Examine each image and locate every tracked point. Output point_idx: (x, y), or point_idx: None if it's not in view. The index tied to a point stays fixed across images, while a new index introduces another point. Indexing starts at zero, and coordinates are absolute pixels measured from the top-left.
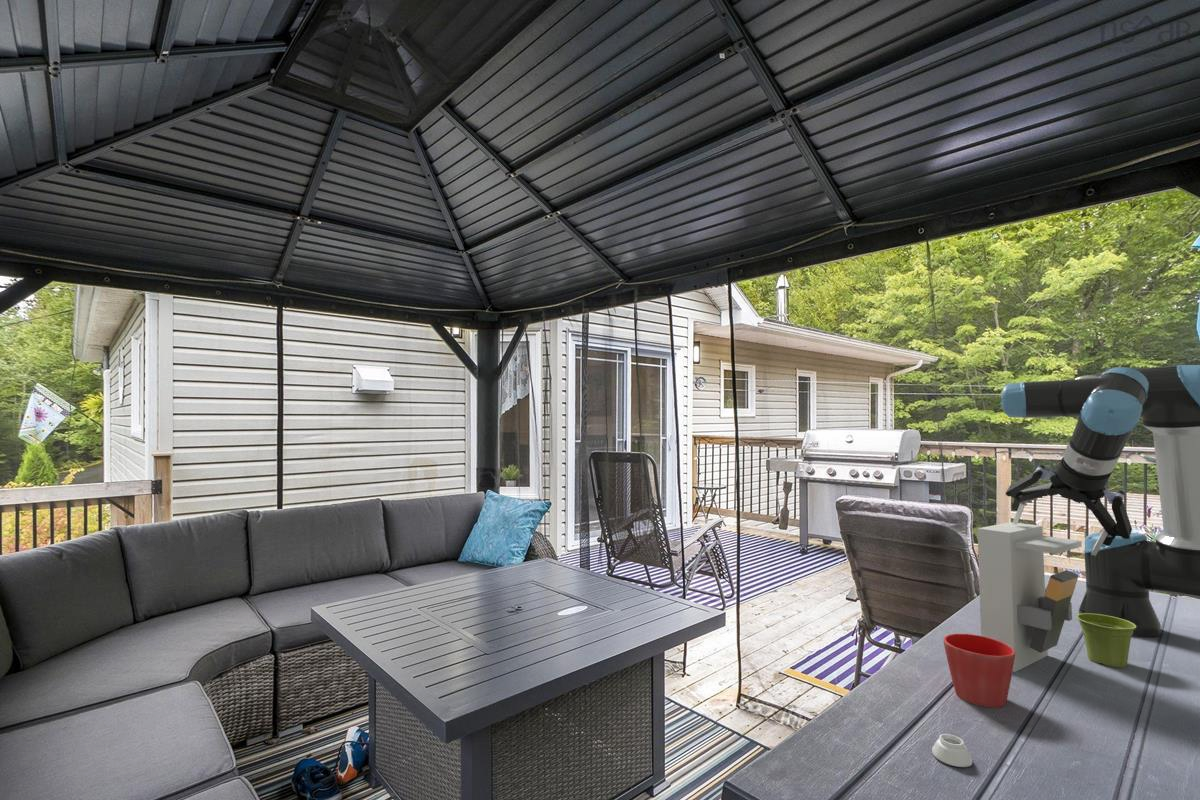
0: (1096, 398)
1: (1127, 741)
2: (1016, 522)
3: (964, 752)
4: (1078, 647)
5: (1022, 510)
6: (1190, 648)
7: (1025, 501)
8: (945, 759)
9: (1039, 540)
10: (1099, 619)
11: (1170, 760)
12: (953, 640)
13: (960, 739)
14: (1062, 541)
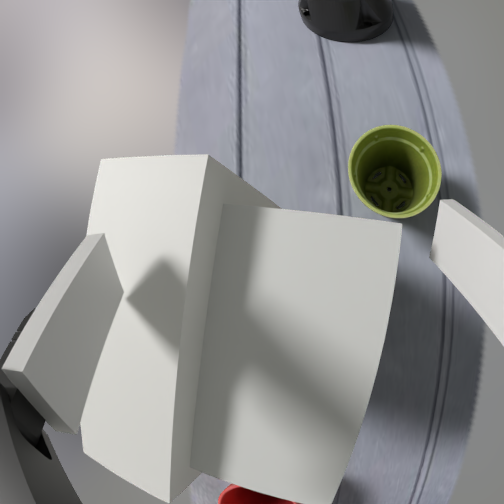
0: None
1: (416, 475)
2: (116, 304)
3: None
4: (341, 148)
5: (83, 321)
6: (432, 39)
7: (52, 410)
8: None
9: (252, 386)
10: (376, 137)
11: (443, 483)
12: (227, 493)
13: None
14: (337, 332)
